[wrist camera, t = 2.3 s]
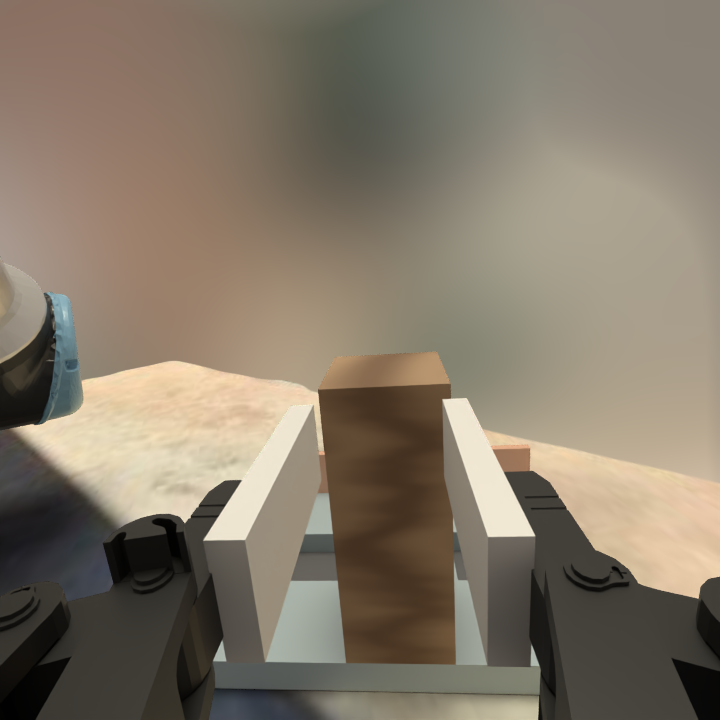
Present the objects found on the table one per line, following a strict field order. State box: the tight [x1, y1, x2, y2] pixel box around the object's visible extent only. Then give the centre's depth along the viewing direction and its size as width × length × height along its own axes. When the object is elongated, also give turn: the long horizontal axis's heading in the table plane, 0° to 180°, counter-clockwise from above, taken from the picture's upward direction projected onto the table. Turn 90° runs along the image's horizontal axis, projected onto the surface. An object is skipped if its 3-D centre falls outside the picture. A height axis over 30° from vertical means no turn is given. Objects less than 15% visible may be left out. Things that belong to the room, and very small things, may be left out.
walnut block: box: [318, 352, 456, 665], centre depth 24 cm, size 6×6×16 cm
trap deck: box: [213, 445, 541, 695], centre depth 31 cm, size 24×18×6 cm
